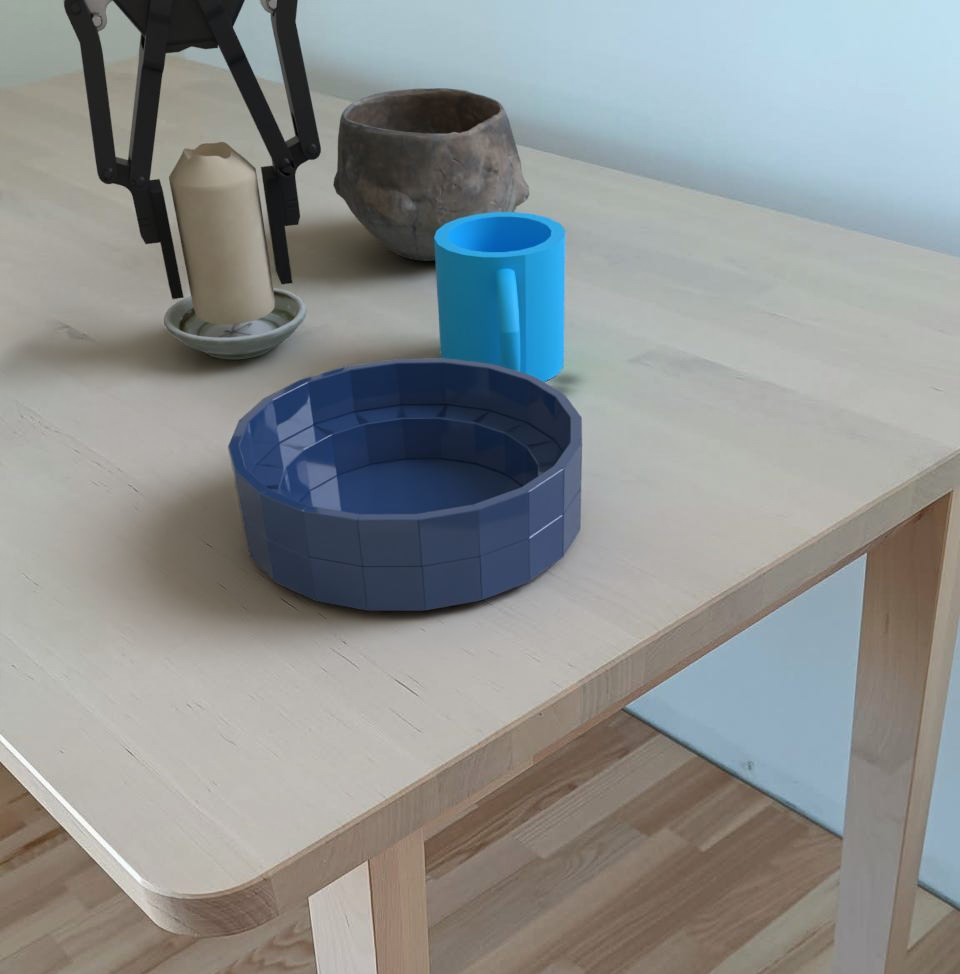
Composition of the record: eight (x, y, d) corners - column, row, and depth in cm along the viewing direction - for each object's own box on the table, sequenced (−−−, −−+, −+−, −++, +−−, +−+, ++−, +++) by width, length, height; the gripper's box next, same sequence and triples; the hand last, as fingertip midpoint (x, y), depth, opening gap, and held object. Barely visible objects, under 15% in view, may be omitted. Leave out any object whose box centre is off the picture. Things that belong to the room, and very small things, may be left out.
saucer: (287, 377, 84) (281, 341, 82) (149, 371, 86) (141, 335, 84) (326, 320, 91) (322, 285, 89) (198, 315, 92) (191, 281, 91)
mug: (439, 342, 87) (432, 215, 82) (557, 335, 88) (558, 208, 82) (446, 420, 79) (438, 284, 73) (577, 412, 79) (579, 276, 73)
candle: (262, 327, 84) (236, 161, 77) (183, 324, 85) (151, 160, 78) (285, 295, 88) (263, 135, 81) (209, 293, 89) (181, 134, 82)
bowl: (384, 296, 94) (371, 146, 87) (316, 234, 104) (300, 95, 97) (553, 262, 98) (554, 116, 91) (472, 205, 108) (467, 70, 101)
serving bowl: (228, 476, 75) (211, 385, 71) (525, 429, 78) (524, 339, 74) (273, 647, 62) (255, 546, 58) (627, 583, 65) (632, 484, 61)
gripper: (-29, -127, 65) (85, 324, 81) (345, -157, 68) (383, 284, 84) (-25, -144, 71) (80, 283, 87) (321, -170, 74) (362, 247, 90)
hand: (230, 283), depth 85 cm, fingers open, 7 cm apart
